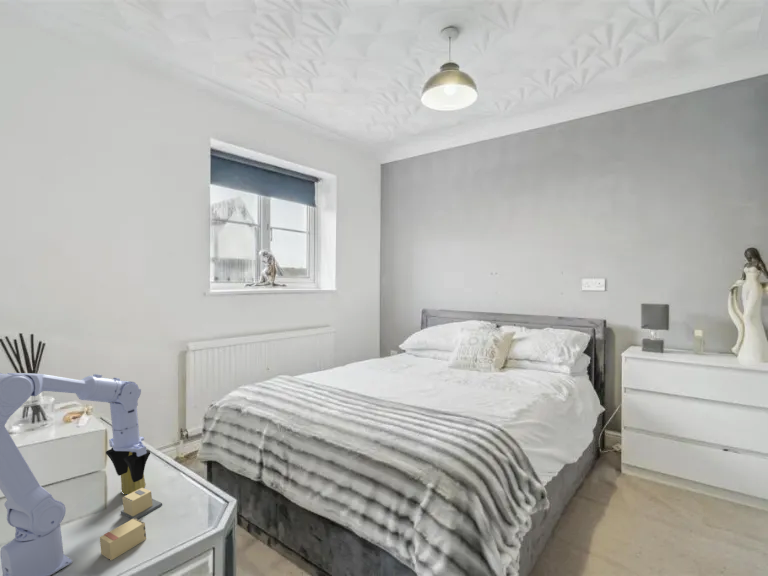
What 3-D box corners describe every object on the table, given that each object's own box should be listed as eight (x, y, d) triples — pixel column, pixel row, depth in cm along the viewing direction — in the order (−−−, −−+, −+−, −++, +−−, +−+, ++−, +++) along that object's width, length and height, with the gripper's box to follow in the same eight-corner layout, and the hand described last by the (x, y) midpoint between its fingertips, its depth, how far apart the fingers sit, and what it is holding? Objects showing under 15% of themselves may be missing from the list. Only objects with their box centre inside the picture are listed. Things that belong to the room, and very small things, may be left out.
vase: (133, 495, 111) (128, 447, 110) (115, 494, 112) (110, 446, 112) (150, 483, 117) (146, 437, 116) (133, 482, 118) (128, 437, 118)
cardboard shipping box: (111, 560, 86) (109, 542, 85) (101, 554, 88) (99, 536, 88) (146, 539, 92) (144, 522, 92) (136, 533, 94) (134, 517, 94)
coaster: (135, 520, 100) (135, 518, 99) (120, 513, 103) (120, 511, 103) (162, 505, 106) (162, 503, 106) (147, 498, 109) (147, 496, 109)
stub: (132, 516, 100) (131, 501, 100) (123, 512, 102) (122, 496, 102) (152, 505, 105) (151, 490, 104) (143, 501, 107) (142, 487, 107)
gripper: (156, 424, 102) (160, 475, 102) (127, 417, 109) (131, 464, 109) (127, 435, 95) (132, 489, 96) (98, 426, 103) (103, 476, 103)
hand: (130, 476), depth 102 cm, fingers open, 7 cm apart
